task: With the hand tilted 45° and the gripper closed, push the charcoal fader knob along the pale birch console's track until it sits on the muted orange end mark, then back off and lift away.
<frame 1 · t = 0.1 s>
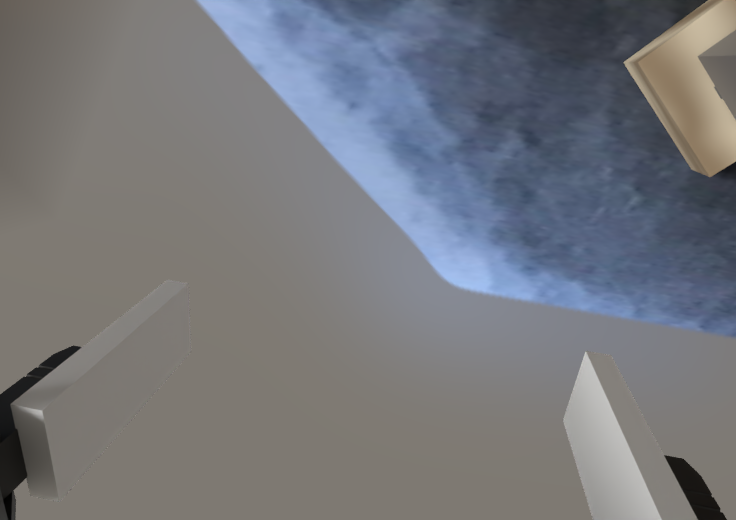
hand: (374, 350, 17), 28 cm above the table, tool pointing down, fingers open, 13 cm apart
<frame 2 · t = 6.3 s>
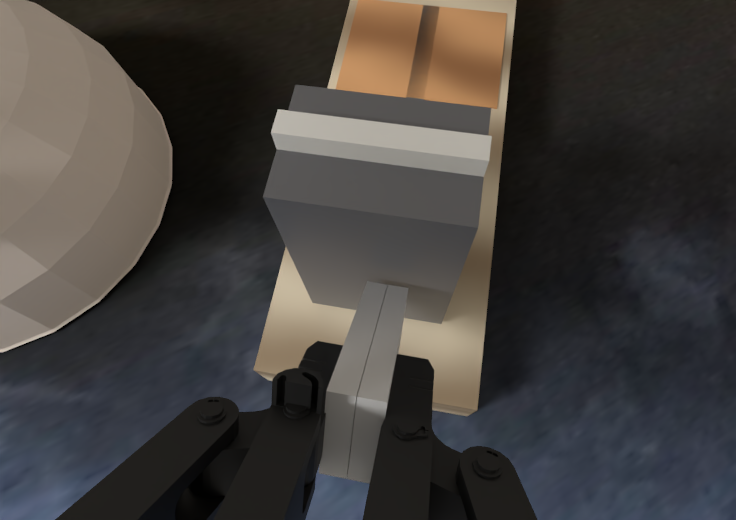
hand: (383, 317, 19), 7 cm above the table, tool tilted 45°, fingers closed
fader knob: (382, 222, 19), point 9 cm above the table, slide at 0.4 cm
kettle: (11, 195, 30), on the table
fader console: (405, 174, 30), on the table
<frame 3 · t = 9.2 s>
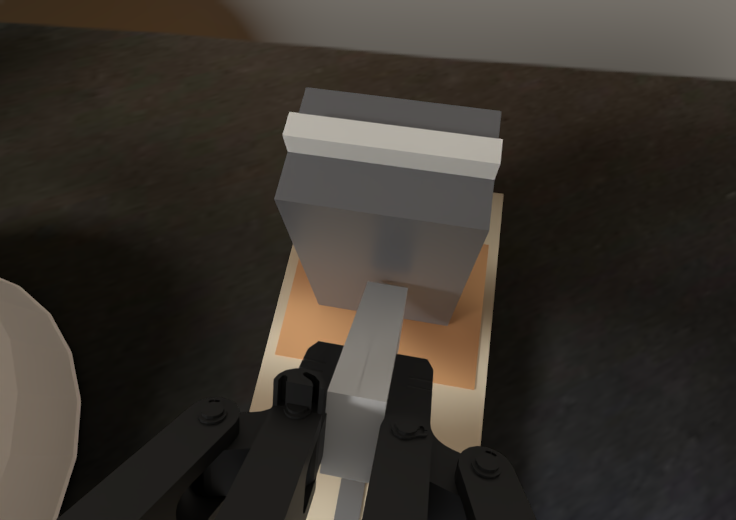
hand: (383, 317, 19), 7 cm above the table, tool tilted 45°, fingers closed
fader knob: (390, 224, 19), point 9 cm above the table, slide at 15.6 cm, touching gripper
fader console: (363, 445, 24), on the table
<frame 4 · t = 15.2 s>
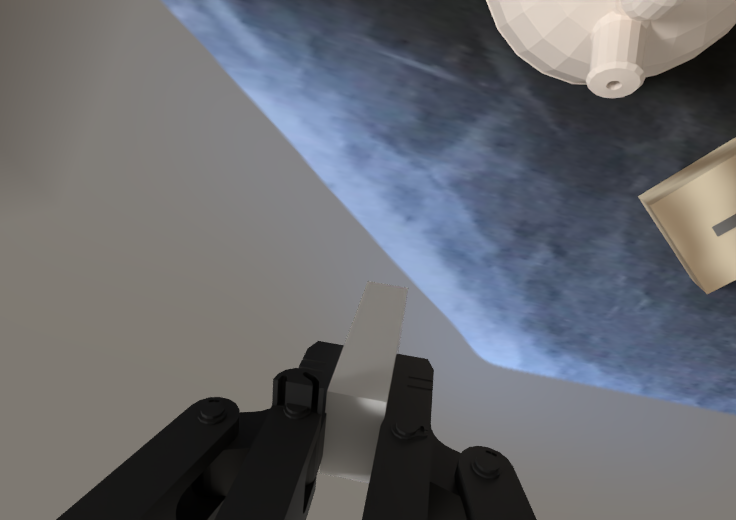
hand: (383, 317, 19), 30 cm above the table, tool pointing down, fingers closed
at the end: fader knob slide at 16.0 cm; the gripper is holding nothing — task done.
